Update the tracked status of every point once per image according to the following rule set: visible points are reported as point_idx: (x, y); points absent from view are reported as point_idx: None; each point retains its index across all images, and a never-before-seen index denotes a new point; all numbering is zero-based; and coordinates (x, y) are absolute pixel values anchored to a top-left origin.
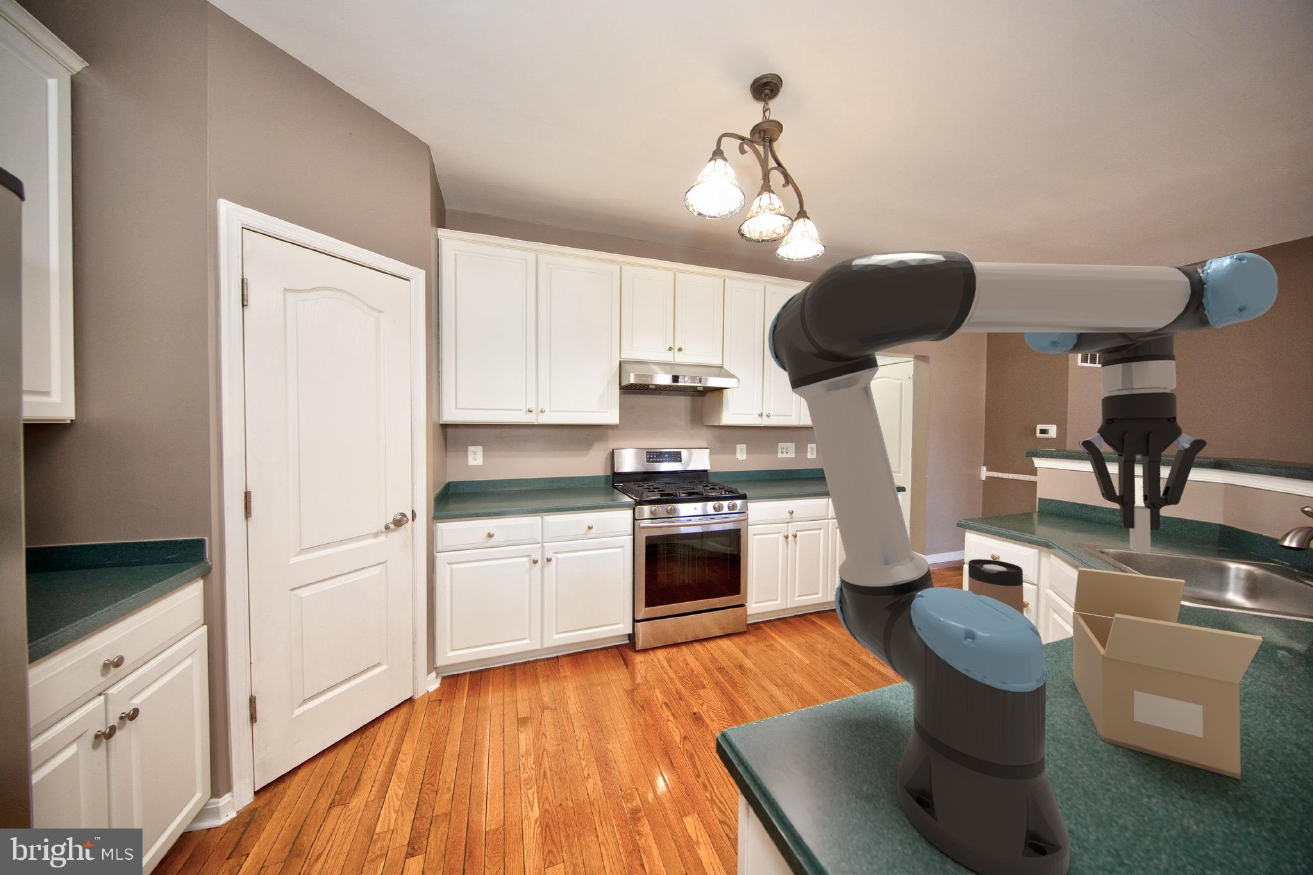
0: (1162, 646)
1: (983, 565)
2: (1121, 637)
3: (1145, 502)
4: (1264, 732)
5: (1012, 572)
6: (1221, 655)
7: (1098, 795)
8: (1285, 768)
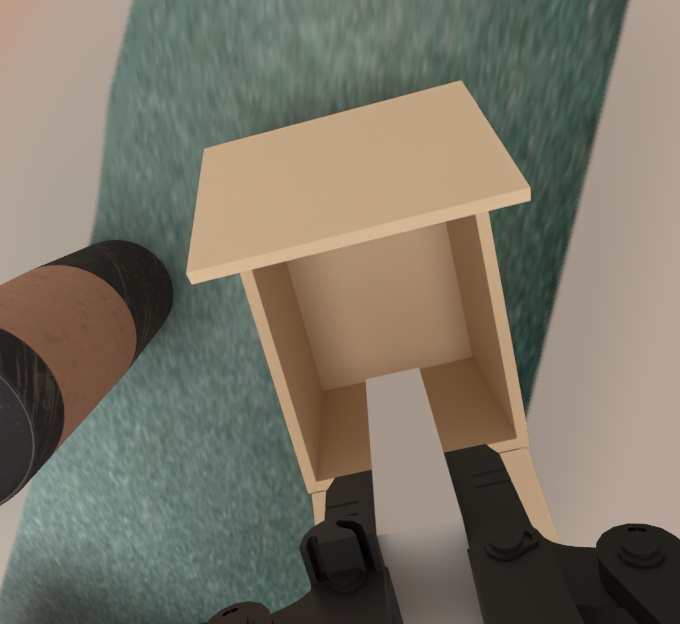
0: None
1: None
2: None
3: (480, 603)
4: (554, 109)
5: (23, 485)
6: None
7: None
8: (547, 259)
